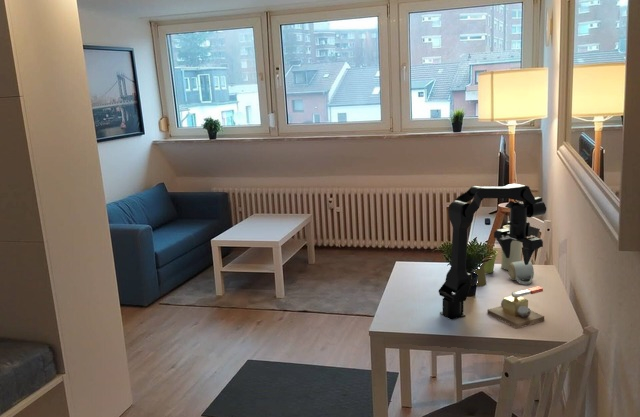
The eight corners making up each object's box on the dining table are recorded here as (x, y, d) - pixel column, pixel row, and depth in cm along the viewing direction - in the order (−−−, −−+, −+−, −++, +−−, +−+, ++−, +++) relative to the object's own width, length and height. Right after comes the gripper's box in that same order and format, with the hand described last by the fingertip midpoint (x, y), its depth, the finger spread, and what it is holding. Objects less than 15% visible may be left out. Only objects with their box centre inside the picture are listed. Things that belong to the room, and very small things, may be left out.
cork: (487, 286, 228) (487, 259, 225) (471, 286, 229) (471, 259, 226) (485, 281, 233) (486, 254, 231) (470, 280, 235) (470, 254, 232)
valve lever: (515, 298, 195) (515, 295, 195) (510, 296, 197) (510, 292, 197) (543, 291, 200) (543, 288, 200) (537, 289, 202) (537, 286, 202)
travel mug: (501, 270, 245) (502, 229, 241) (500, 264, 253) (501, 224, 249) (521, 271, 243) (523, 229, 239) (519, 265, 251) (521, 224, 247)
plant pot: (477, 275, 240) (477, 255, 238) (471, 268, 249) (471, 248, 247) (500, 274, 240) (500, 254, 238) (493, 267, 249) (493, 247, 248)
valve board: (516, 328, 190) (516, 323, 189) (487, 313, 202) (487, 309, 202) (544, 320, 194) (544, 316, 194) (514, 306, 207) (514, 302, 206)
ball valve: (519, 319, 192) (520, 303, 191) (498, 309, 201) (499, 294, 200) (532, 316, 194) (533, 300, 193) (511, 306, 203) (511, 291, 202)
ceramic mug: (507, 276, 237) (507, 258, 236) (526, 275, 238) (527, 257, 236) (516, 286, 227) (517, 267, 225) (537, 285, 227) (538, 266, 225)
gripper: (555, 221, 202) (553, 264, 205) (516, 211, 218) (515, 251, 222) (531, 225, 197) (529, 269, 201) (493, 215, 214) (492, 256, 217)
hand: (516, 261), depth 210 cm, fingers open, 9 cm apart
